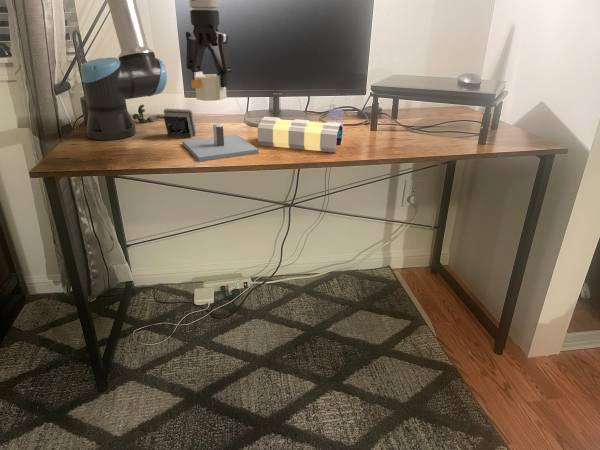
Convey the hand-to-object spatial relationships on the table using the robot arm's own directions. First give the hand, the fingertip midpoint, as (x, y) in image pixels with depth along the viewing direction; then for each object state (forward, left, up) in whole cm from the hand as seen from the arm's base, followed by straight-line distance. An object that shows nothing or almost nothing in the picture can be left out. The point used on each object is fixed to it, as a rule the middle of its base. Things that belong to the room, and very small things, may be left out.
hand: (211, 96), depth 128 cm
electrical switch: (-18, -5, -16) cm, 25 cm away
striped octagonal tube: (+6, +26, -16) cm, 32 cm away
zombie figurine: (-43, -9, -16) cm, 47 cm away
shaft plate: (0, +2, -16) cm, 16 cm away
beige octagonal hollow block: (+1, -1, 0) cm, 1 cm away
